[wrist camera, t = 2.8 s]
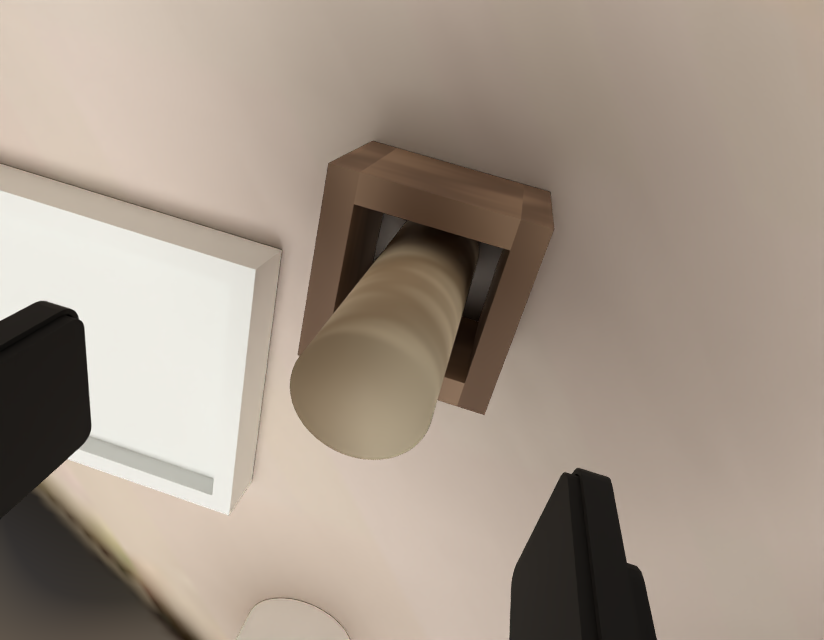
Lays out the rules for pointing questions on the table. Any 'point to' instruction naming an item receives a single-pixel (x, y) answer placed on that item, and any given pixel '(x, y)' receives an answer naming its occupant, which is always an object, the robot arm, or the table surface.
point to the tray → (150, 331)
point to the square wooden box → (445, 210)
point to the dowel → (387, 347)
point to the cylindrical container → (290, 622)
